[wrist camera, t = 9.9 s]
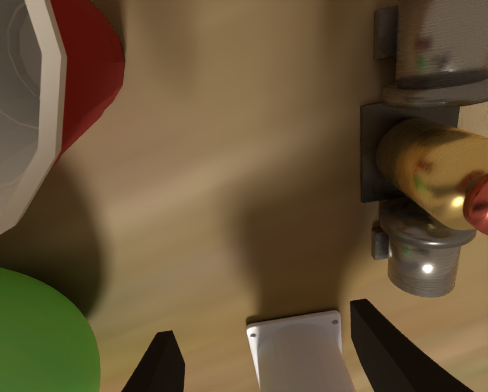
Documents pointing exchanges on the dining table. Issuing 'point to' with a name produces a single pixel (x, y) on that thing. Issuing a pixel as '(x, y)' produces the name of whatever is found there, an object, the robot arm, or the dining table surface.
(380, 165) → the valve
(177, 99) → the dining table surface
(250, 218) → the dining table surface
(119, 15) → the dining table surface
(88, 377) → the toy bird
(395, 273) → the grey metal fittings
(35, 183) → the plastic cup
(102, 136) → the dining table surface
